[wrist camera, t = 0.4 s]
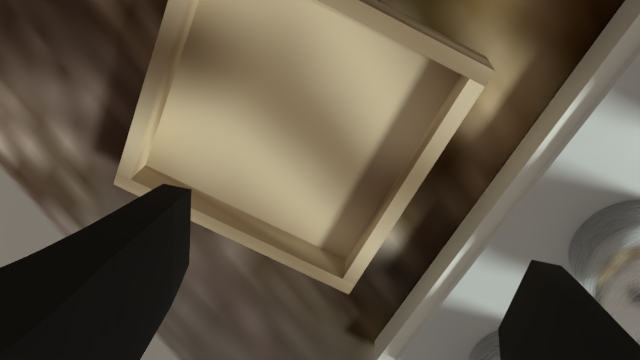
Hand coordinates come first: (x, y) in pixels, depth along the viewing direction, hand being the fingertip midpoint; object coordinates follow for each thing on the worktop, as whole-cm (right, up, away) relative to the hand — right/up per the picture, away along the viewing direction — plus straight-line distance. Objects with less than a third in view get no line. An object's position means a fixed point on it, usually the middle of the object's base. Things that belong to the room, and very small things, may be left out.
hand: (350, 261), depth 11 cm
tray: (-2, +4, +10) cm, 11 cm away
